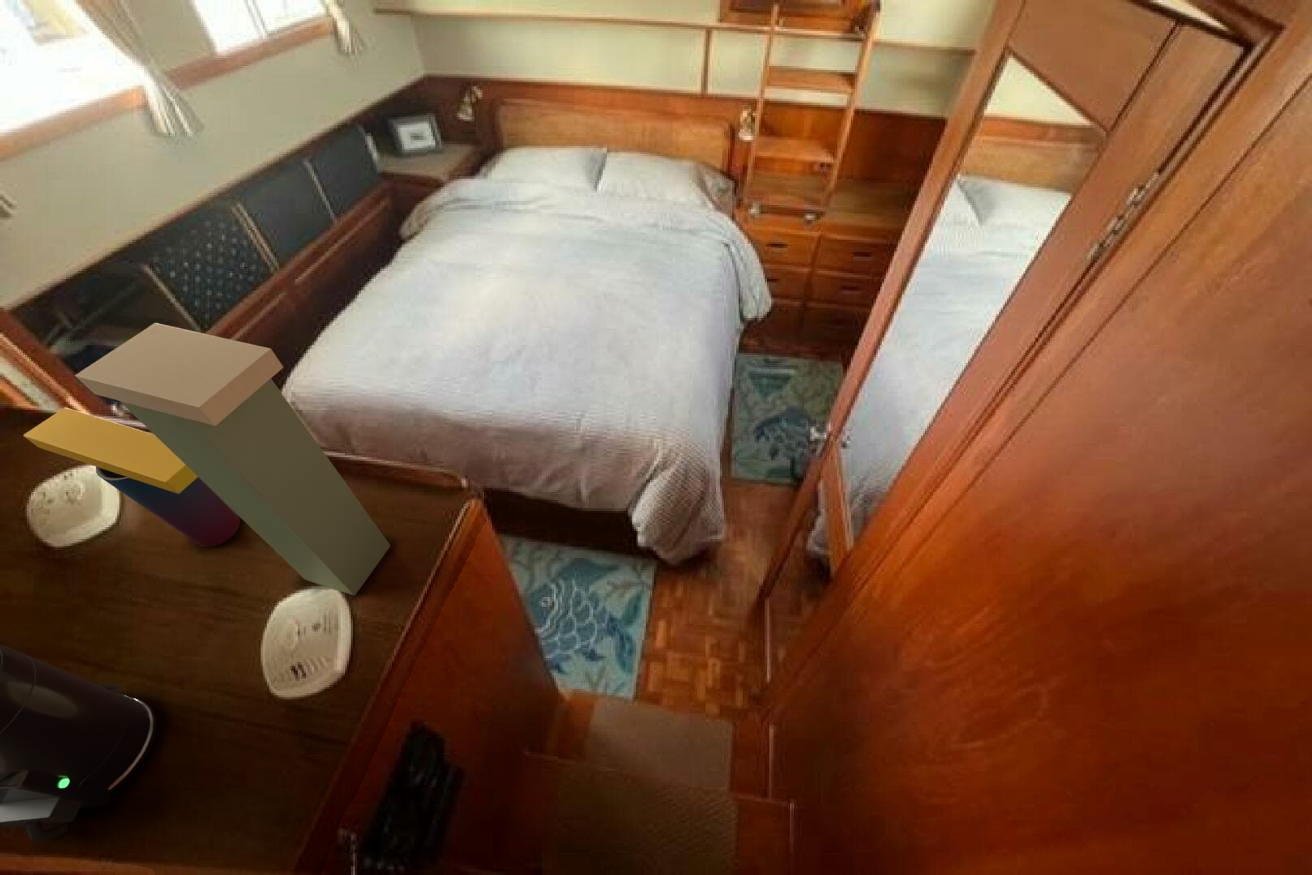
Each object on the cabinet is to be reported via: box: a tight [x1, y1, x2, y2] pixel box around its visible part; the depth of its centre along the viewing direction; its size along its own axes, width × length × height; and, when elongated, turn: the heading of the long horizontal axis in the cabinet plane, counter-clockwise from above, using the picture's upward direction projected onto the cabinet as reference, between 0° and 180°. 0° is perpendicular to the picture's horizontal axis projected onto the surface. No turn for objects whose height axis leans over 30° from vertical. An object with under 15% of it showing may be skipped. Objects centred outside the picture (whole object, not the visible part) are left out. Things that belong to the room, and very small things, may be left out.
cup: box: [95, 431, 241, 548], centre depth 64 cm, size 7×7×15 cm
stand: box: [74, 322, 391, 597], centre depth 54 cm, size 12×7×32 cm, turn 73°
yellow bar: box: [23, 407, 198, 494], centre depth 57 cm, size 20×4×2 cm, turn 72°
